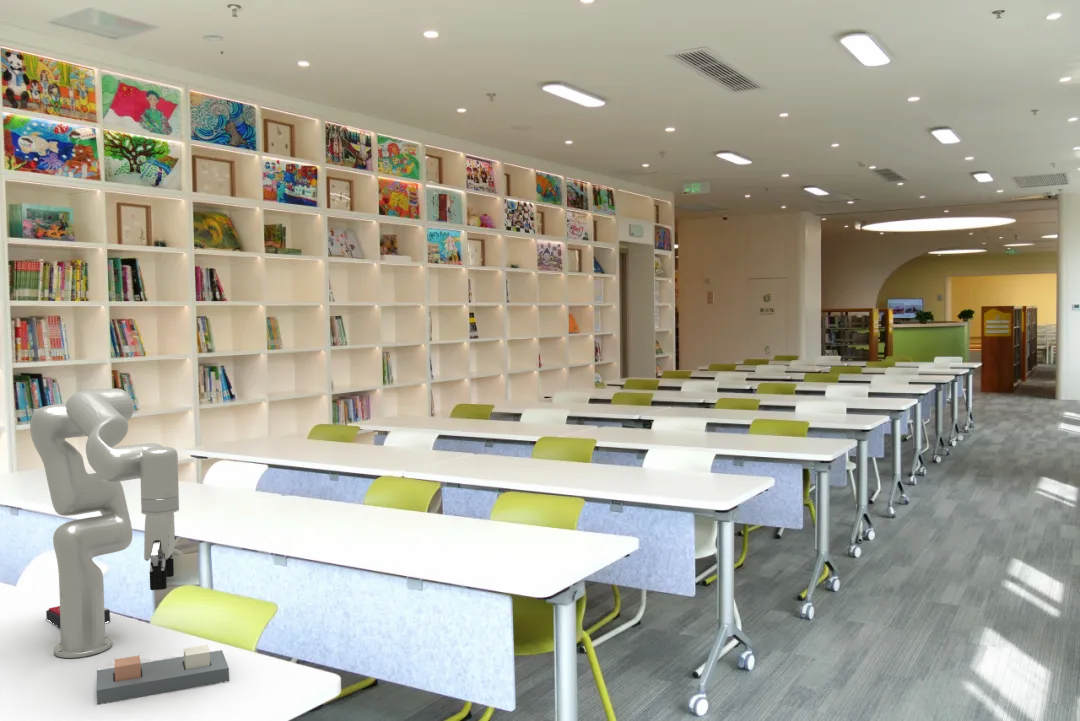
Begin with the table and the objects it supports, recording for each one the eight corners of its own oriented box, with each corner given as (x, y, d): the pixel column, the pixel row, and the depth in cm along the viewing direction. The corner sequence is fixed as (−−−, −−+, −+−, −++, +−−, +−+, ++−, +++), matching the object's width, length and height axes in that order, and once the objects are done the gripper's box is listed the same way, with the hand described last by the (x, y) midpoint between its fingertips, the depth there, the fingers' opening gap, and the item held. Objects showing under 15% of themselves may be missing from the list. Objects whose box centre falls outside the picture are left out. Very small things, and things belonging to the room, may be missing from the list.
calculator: (88, 598, 245) (110, 607, 234) (89, 613, 245) (110, 623, 234) (45, 607, 237) (65, 617, 226) (46, 623, 237) (66, 633, 226)
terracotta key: (114, 677, 192) (114, 659, 192) (140, 673, 194) (139, 655, 194) (115, 685, 188) (114, 667, 187) (141, 681, 190) (140, 663, 190)
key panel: (97, 683, 194) (96, 670, 194) (222, 662, 205) (222, 650, 205) (96, 704, 183) (96, 690, 183) (229, 681, 195) (228, 667, 194)
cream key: (184, 666, 198) (183, 648, 198) (207, 662, 201) (207, 644, 200) (186, 673, 194) (185, 655, 194) (210, 669, 196) (209, 651, 196)
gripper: (148, 498, 199) (150, 573, 200) (133, 513, 182) (135, 596, 183) (184, 496, 201) (186, 571, 201) (172, 511, 184) (174, 593, 185)
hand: (162, 582), depth 192 cm, fingers open, 9 cm apart
